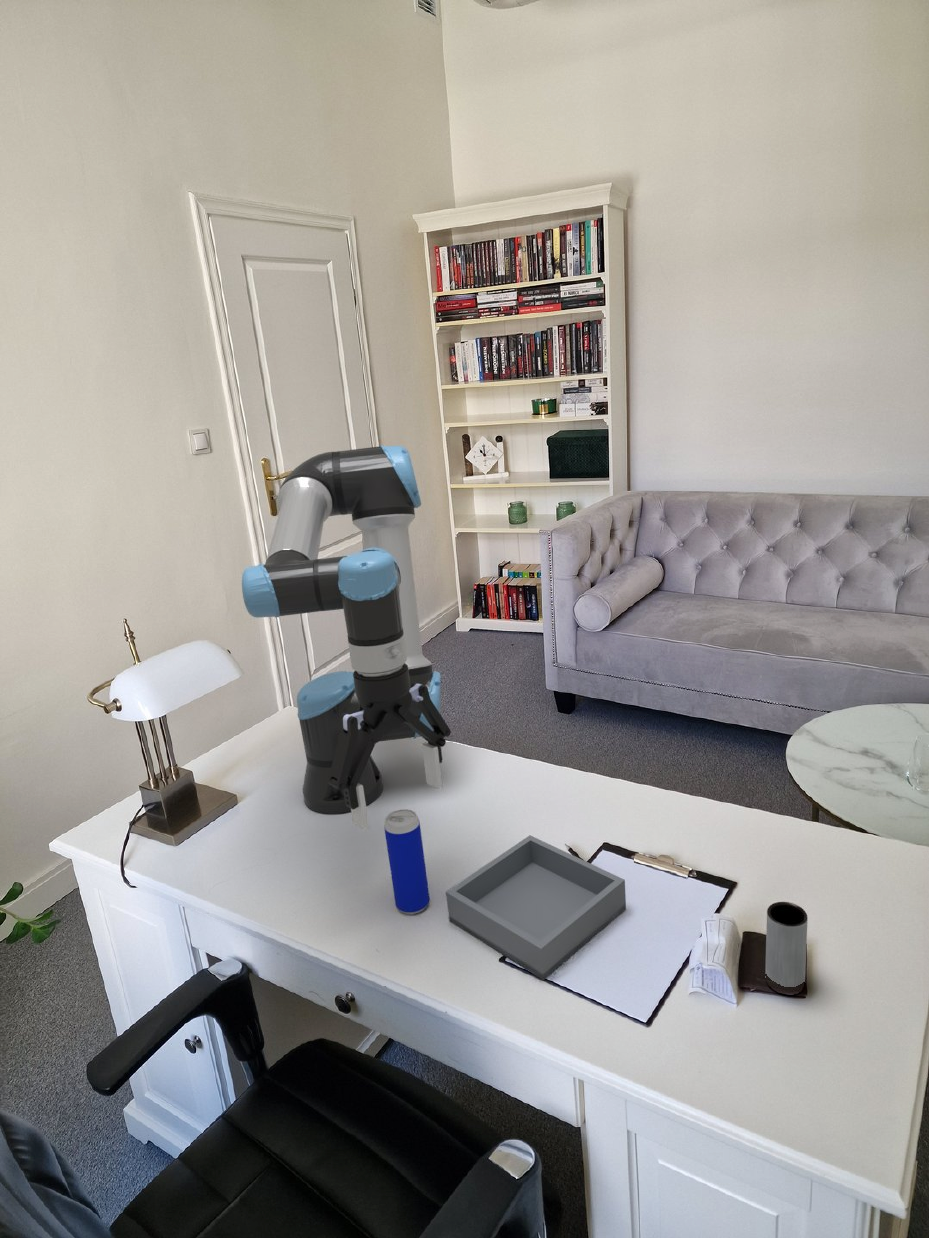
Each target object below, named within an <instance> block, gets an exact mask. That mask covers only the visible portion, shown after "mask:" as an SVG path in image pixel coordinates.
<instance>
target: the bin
mask: <svg viewBox="0 0 929 1238" xmlns="http://www.w3.org/2000/svg"><path fill="white" fill-rule="evenodd" d="M445 895H446V904H447V911H448V913H447V914H448V921H449V923H452V924H453V925H455V926H457V927H458V928H459V929H461V930H463V931H464V932H466V933H467V934H469V935H471V936H472V937H474V938H476V939H477V940H479V941H480V942H482V943H483V944H485V945H486V946H488V947H490V948H492V949H493V950H495V951H496V952H498V953H499V954H501V955H502V956H504V957H506V958H507V959H508V960H510V961H512V962H513V963H515V964H517V965H518V966H520V967H521V968H523V969H524V970H526V971H528V972H529V973H531V974H532V975H534V976H536V977H537V978H539V979H540V980H542V981H545V980H546V979H548V977H549V976H550V975H552V974H553V973H554V972H555V971H556V970H558V969H559V968H560V967H561V966H562V965H564V964H565V963H566V962H567V961H568V960H569V959H570V958H572V957H573V955H575V954H576V953H577V952H579V951H580V950H581V949H582V948H583V947H585V946H586V945H587V944H588V943H589V942H590V941H592V939H593V938H594V937H596V936H597V935H598V934H599V933H600V932H602V931H603V930H604V929H605V928H606V927H607V926H609V925H610V924H611V923H612V922H613V921H614V920H615V919H617V918H618V917H619V916H620V915H621V914H623V912H625V911H626V910H627V905H626V904H627V902H626V900H627V899H626V897H627V896H626V880H625V879H624V878H622V877H619V876H617V875H615V874H614V873H611V872H610V871H607V870H605V869H603V868H601V867H599V866H597V865H594V864H592V863H590V862H588V861H586V860H583V859H582V858H579V857H578V856H575V855H574V854H571V853H569V852H567V851H564V850H562V849H560V848H558V847H556V846H554V845H552V844H549V843H547V842H546V841H544V840H541V839H539V838H537V837H534V836H532V835H528V836H526V837H525V838H523V839H522V840H521V841H519V842H518V843H516V844H515V845H513V846H512V847H510V848H508V849H507V850H505V852H503V853H501V854H500V855H498V856H497V857H496V858H494V859H492V860H491V861H490V862H488V863H486V864H485V865H484V866H482V867H480V868H479V869H478V870H477V871H474V872H473V873H472V874H470V875H469V876H467V877H466V878H464V879H462V880H461V881H460V882H459V883H457V884H455V885H454V886H452V888H450V889H448V890H447V891H445Z"/></svg>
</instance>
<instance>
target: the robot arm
mask: <svg viewBox="0 0 929 1238" xmlns="http://www.w3.org/2000/svg"><path fill="white" fill-rule="evenodd" d="M276 503H277V504H276V506H277V508H278V512H279V513H278V516H277V519H276V523H275V528H274V531H273V534H272V538H271V541H270V545H269V549H268V553H267V555H266V559H265V563H264V564H263V563H259V564H257V565H253V566H248V567H247V568H245V569H244V570H243V573H242V576H241V590H242V591H241V592H242V598H243V602H244V605H245V609H246V611H247V612H248V614H249V615H250V616H251V617H254V618H256V619H257V618H280V617H284V616H285V617H286V616H292V615H293V616H294V615H300V614H310V613H316V612H317V613H319V612H327V611H328V612H329V611H336V610H337V611H338V610H339V611H340V610H343V615H344V621H345V626H346V633H347V643H348V651H349V659H350V665H351V666H350V667H351V669H352V670H354V671H346V670H342V671H334V672H329V673H326V674H323V675H321V676H317V677H316V678H314V679H312V680H310V681H308V682H307V683H306V684H304V685H303V686H302V687H301V688H300V690H299V691H298V692H297V695H296V706H297V718H298V720H299V725H300V730H301V735H302V736H301V737H302V742H303V747H304V753H305V758H306V766H305V774H304V778H303V779H304V780H303V786H302V797H303V802H304V804H305V805H306V807H307V808H309V809H310V810H312V811H314V812H317V813H321V814H332V815H333V814H342V813H343V814H344V813H349V812H351V818H352V823H353V824H354V825H355V826H358V827H359V828H361V829H363V830H365V831H366V830H368V829H369V828H370V824H369V816H368V810H367V806H368V805H370V804H372V803H373V802H374V801H376V799H378V798H379V797H380V796H381V794H382V793H383V789H384V783H383V777H382V774H381V772H380V770H379V768H378V766H377V764H376V763H375V761H374V759H373V756H372V753H373V750H374V748H375V746H376V744H377V743H379V742H386V741H394V740H396V741H397V740H403V739H411V738H413V739H417V738H420V737H421V738H423V739H424V740H425V741H426V742H424V743H421V748H422V749H421V750H422V758H423V764H424V765H423V766H424V772H425V781H426V784H427V785H429V786H431V787H434V788H435V789H437V790H438V789H441V788H443V783H442V782H443V781H442V773H441V765H440V764H441V763H443V753H442V752H443V751H442V748H443V747H444V746H445V745H446V739H445V738H446V737H447V738H448V737H449V736H450V735H451V732H452V731H451V729H450V727H449V726H448V724H447V723H446V721H445V720H444V717H442V715H441V673H440V672H439V671H437V670H434V671H433V666H432V662H431V660H429V659H428V658H426V657H425V656H424V654H423V650H422V649H423V647H422V639H421V631H420V630H421V629H420V622H419V614H418V603H417V594H416V587H415V586H416V585H415V578H414V568H413V559H412V551H411V543H410V534H409V526H410V525H411V523H412V522H413V521H414V520H415V518H416V513H415V509H418V508H419V507H422V501H421V495H420V493H419V488H418V484H417V479H416V476H415V472H414V468H413V463H412V459H411V456H410V452H409V450H408V449H407V448H406V447H405V446H402V445H380V446H374V447H373V446H372V447H364V448H356V449H347V450H338V451H327V452H322V453H320V454H316V455H314V456H312V457H310V458H308V459H307V460H305V461H304V462H303V461H302V463H300V465H298V466H297V467H295V468H294V469H293V470H292V471H291V472H290V473H289V474H287V476H286V477H285V479H284V480H283V482H282V484H281V486H280V487H279V491H278V493H277V499H276ZM345 515H351V520H352V524H353V526H355V528H357V529H358V530H359V531H360V532H361V533H362V535H361V537H362V544H363V550H361V551H359V552H355V553H352V554H349V555H343V556H333V557H325V558H318V557H319V552H320V546H321V539H322V535H323V530H324V523H325V522H326V521H327V520H328V519H329V517H334V516H345Z"/></svg>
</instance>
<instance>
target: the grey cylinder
mask: <svg viewBox="0 0 929 1238" xmlns="http://www.w3.org/2000/svg"><path fill="white" fill-rule="evenodd" d="M808 922H809V921H808V913H807V912H806V911H805V910H804V908H803V907H801V906H800V905H798V904H796V903H793V902H789V901H778V902H774V903H772V904H770V905H769V906H768V907H767V910H766V931H765V932H766V940H765V974H767V976H768V977H769V978H770V979H771V980H772V981H774V982H776V983H777V984H780V985H781V986H784V987H796V986H798V985H800V984H802V983H803V982H805V983H806V968H807V967H806V965H807V945H808V944H807V943H808V942H807V940H808Z"/></svg>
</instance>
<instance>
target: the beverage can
mask: <svg viewBox="0 0 929 1238" xmlns="http://www.w3.org/2000/svg"><path fill="white" fill-rule="evenodd" d="M421 829H422V828H421V823H420V819H419V817H418V815H417V813H416V812H415V811H414V810H411V809H397V810H395V811H393V812H390V813H389V814H388V815H387V816H386V817H385V820H384V825H383V830H384V835H385V841H386V842H385V843H386V847H387V848H386V850H387V853H388V854H387V855H388V862H389V869H390V870H389V871H390V875H391V881H392V889H393V890H392V891H393V894H394V895H393V897H394V903H395V904H394V905H395V907H396V908H397V910H399V911H400V912H401V913H403V914H406V915H415V914H419V913H421V912H422V911H424V910H425V909H426V908H427V907H428V905H429V904H430V891H429V883H428V876H427V868H426V861H425V853H424V852H425V851H424V846H423V838H422V831H421Z"/></svg>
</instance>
